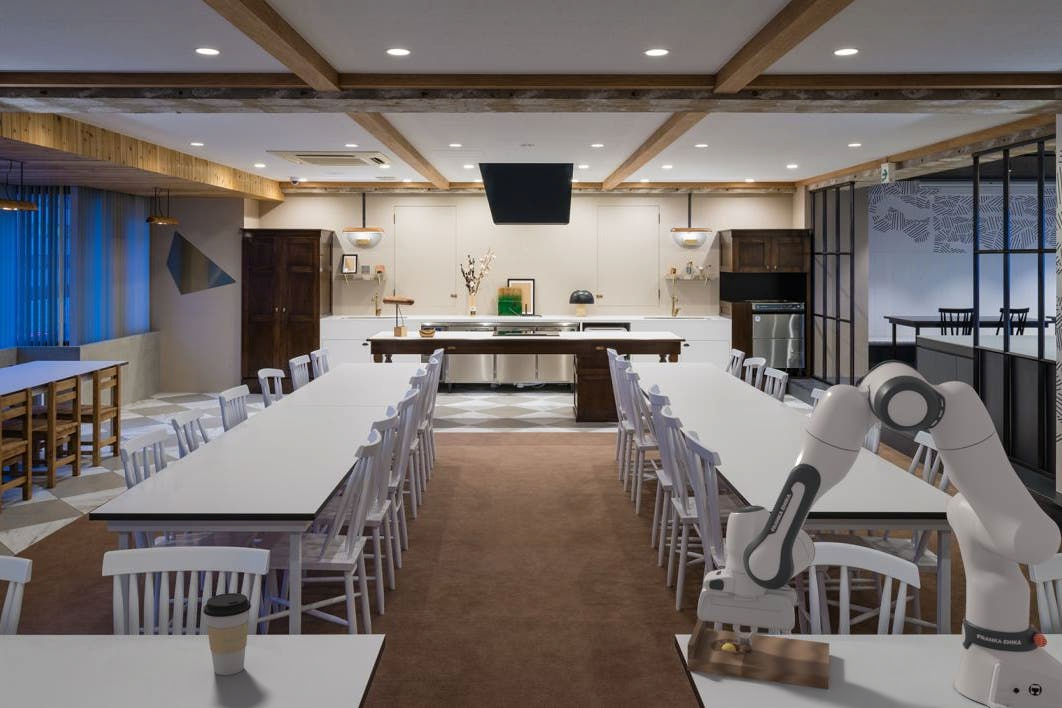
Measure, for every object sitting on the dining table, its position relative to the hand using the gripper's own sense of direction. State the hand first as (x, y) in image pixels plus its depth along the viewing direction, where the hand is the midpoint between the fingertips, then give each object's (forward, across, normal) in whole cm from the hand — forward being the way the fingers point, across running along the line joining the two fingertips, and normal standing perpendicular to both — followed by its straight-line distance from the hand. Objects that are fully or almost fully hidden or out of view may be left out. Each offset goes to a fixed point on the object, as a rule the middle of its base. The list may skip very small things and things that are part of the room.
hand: (745, 644), depth 193 cm
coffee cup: (+4, +102, +39) cm, 109 cm away
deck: (+4, -3, 0) cm, 5 cm away
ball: (+2, +3, 0) cm, 4 cm away
